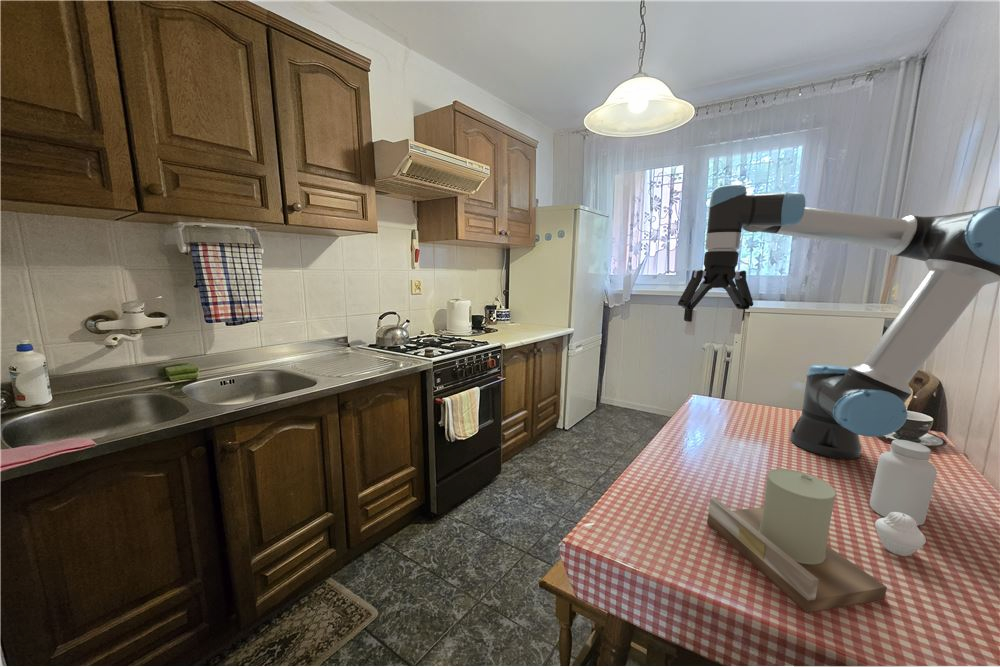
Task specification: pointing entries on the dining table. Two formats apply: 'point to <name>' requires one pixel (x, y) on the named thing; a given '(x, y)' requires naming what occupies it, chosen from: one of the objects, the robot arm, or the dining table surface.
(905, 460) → the pill bottle
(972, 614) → the dining table surface
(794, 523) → the can
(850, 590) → the shelf
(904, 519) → the muffin
